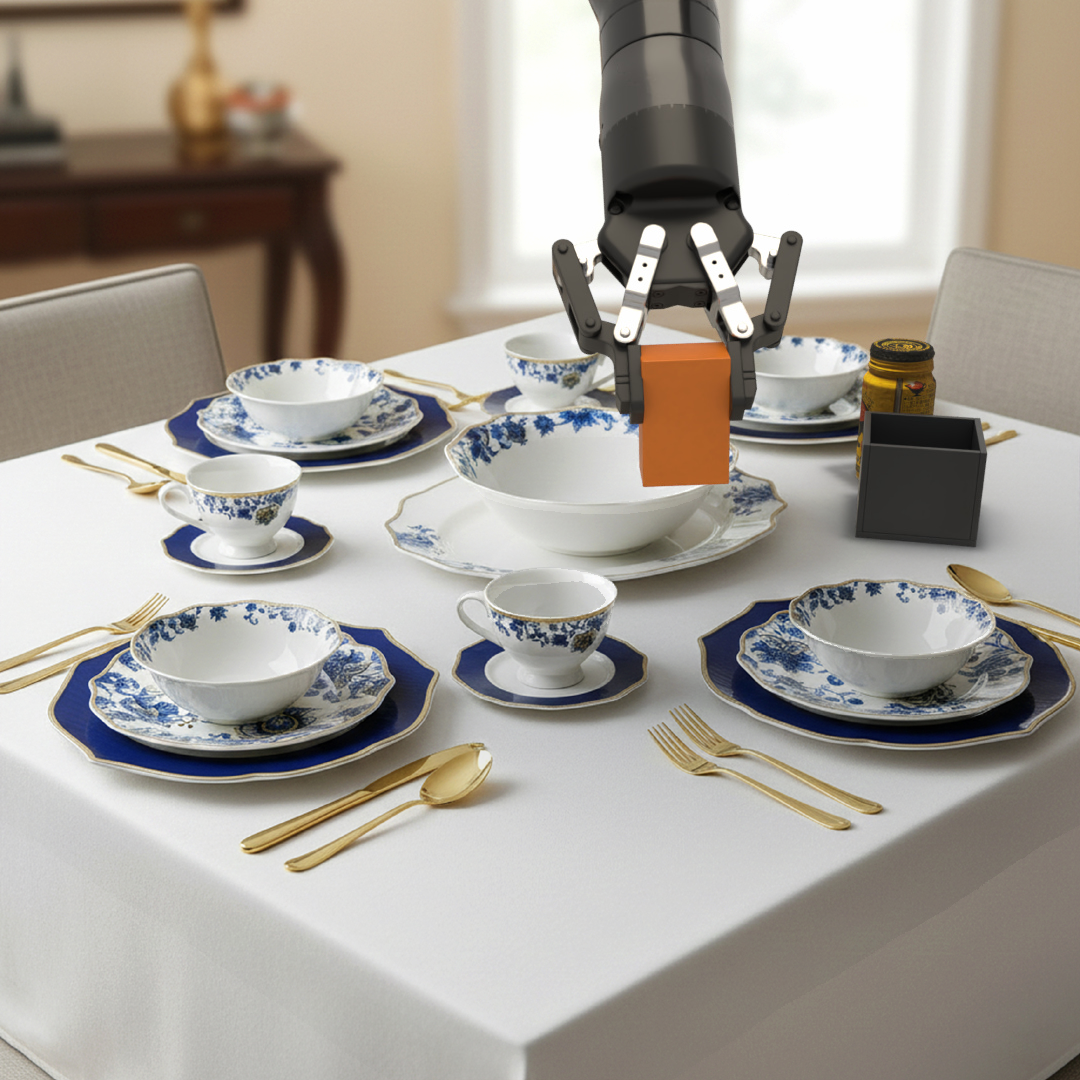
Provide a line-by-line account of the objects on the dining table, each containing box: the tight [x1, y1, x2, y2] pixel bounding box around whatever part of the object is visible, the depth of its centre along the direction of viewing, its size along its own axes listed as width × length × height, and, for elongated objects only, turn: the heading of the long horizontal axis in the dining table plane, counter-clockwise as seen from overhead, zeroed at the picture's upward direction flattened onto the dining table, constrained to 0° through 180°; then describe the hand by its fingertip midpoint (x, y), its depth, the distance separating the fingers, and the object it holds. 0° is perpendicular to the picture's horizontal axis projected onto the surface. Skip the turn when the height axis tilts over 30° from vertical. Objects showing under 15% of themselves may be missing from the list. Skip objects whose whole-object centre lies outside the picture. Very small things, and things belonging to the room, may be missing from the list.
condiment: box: [855, 337, 937, 481], centre depth 124 cm, size 7×8×12 cm
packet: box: [638, 341, 731, 488], centre depth 78 cm, size 3×5×7 cm, turn 90°
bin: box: [854, 411, 988, 548], centre depth 115 cm, size 9×9×8 cm
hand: (687, 414), depth 76 cm, fingers closed on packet, 4 cm apart
